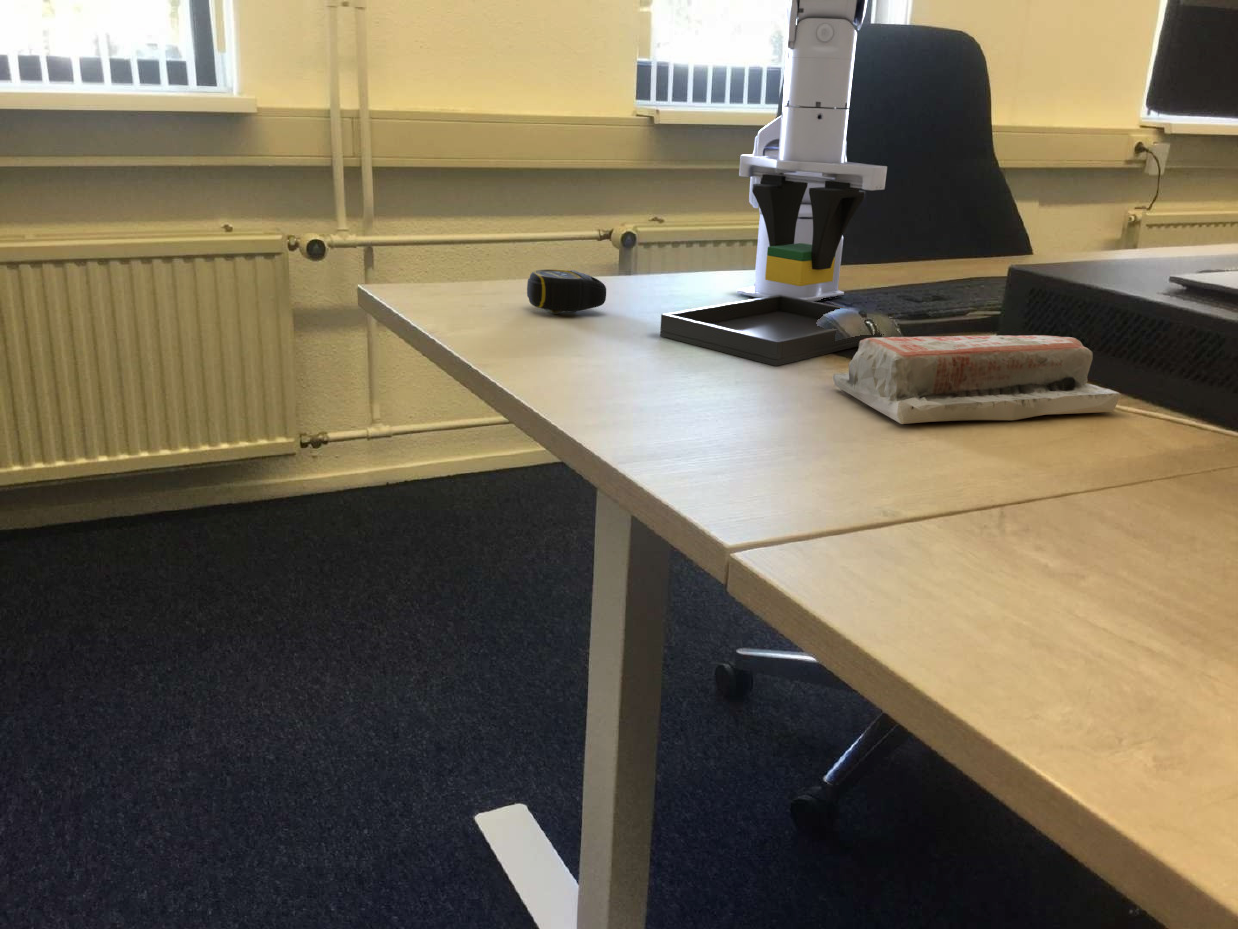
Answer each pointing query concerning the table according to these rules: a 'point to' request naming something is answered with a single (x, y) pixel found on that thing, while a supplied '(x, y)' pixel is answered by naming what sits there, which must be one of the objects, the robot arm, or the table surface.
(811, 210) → the robot arm
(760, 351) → the tray
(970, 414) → the packaged product
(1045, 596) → the table surface
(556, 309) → the tape measure
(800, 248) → the sponge
